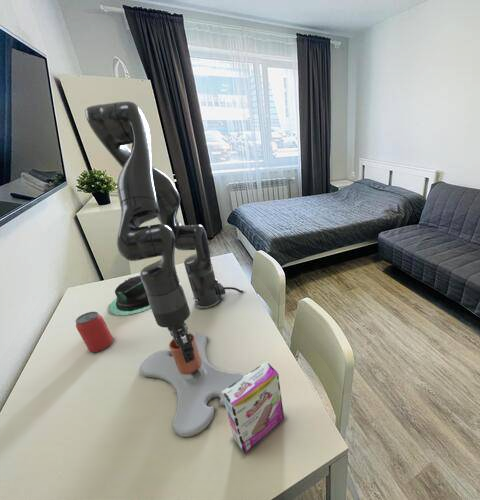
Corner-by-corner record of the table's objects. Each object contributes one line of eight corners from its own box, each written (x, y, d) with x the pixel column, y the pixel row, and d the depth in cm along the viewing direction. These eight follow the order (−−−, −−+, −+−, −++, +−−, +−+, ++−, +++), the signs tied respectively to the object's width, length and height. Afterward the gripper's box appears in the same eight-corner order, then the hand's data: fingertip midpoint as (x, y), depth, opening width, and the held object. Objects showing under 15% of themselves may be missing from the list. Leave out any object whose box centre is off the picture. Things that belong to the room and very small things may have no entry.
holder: (183, 446, 61) (177, 433, 59) (137, 366, 81) (131, 354, 79) (255, 389, 74) (252, 376, 72) (199, 332, 94) (196, 321, 92)
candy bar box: (245, 456, 59) (231, 407, 52) (233, 439, 62) (219, 391, 55) (286, 418, 66) (278, 371, 59) (274, 405, 69) (266, 359, 62)
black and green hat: (147, 313, 103) (94, 317, 103) (175, 306, 122) (130, 309, 121) (146, 274, 104) (93, 278, 104) (174, 273, 123) (129, 276, 122)
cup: (198, 353, 79) (190, 329, 75) (205, 365, 75) (197, 341, 71) (175, 365, 76) (166, 340, 72) (182, 378, 72) (172, 353, 68)
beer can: (100, 354, 86) (84, 325, 81) (83, 351, 88) (67, 322, 82) (118, 339, 92) (105, 311, 87) (103, 337, 93) (88, 309, 88)
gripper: (194, 309, 64) (209, 361, 71) (177, 285, 73) (192, 333, 81) (158, 324, 59) (178, 378, 66) (145, 297, 69) (164, 346, 76)
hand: (186, 353), depth 73 cm, fingers open, 6 cm apart
